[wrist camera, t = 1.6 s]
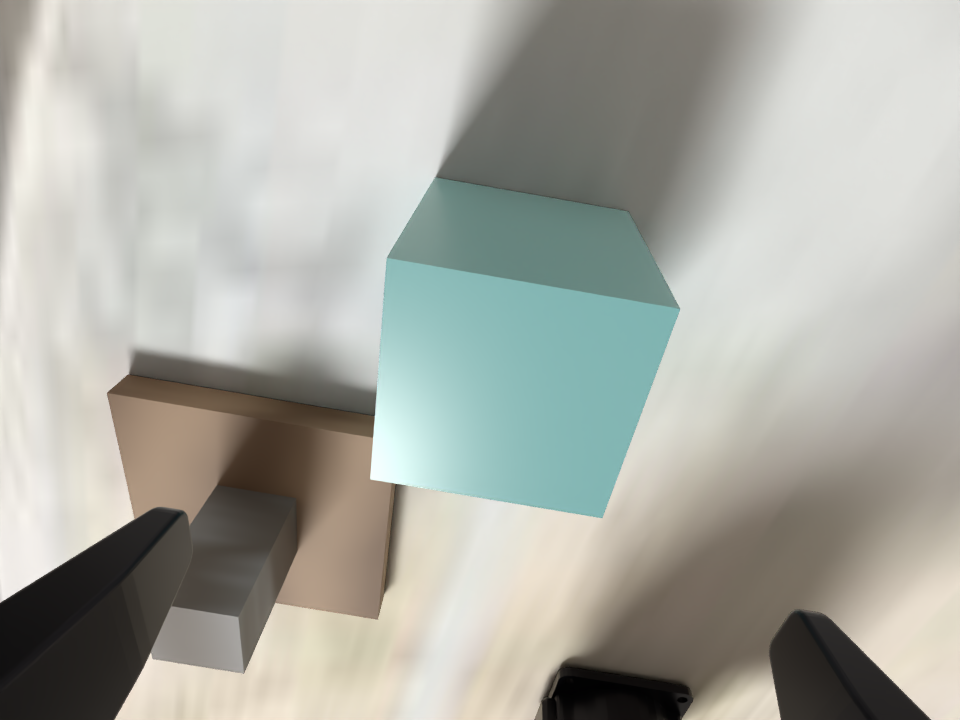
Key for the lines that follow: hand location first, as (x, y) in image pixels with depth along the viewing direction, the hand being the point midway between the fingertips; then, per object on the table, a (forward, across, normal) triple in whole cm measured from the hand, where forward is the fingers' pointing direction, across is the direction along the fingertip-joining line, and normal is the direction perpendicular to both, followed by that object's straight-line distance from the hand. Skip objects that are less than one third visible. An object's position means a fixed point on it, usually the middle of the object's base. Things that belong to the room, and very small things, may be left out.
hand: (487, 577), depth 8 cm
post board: (+11, +8, +11) cm, 17 cm away
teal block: (+11, 0, 0) cm, 11 cm away
